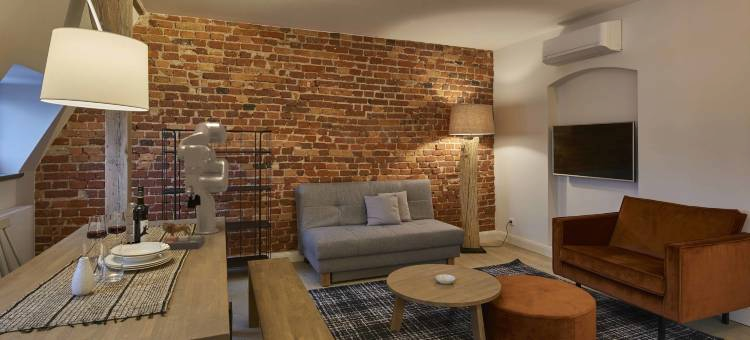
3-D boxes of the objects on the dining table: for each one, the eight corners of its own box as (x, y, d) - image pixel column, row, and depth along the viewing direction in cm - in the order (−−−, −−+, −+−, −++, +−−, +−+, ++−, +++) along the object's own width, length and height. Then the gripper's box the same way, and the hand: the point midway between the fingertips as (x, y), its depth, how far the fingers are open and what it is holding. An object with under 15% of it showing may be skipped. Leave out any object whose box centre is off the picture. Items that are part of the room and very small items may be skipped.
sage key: (192, 240, 205) (192, 235, 205) (201, 239, 206) (200, 235, 206) (190, 242, 201) (189, 237, 201) (198, 241, 202) (198, 237, 202)
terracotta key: (169, 240, 204) (169, 236, 204) (178, 240, 204) (178, 235, 204) (167, 242, 200) (166, 238, 200) (175, 242, 200) (175, 237, 200)
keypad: (169, 243, 207) (169, 237, 207) (204, 242, 209) (204, 236, 209) (161, 250, 195) (161, 243, 195) (198, 248, 197) (198, 242, 197)
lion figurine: (163, 240, 214) (162, 223, 214) (162, 238, 219) (162, 221, 218) (194, 237, 221) (193, 220, 221) (193, 235, 226) (192, 218, 225)
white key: (181, 240, 205) (181, 235, 204) (189, 240, 205) (189, 235, 205) (178, 242, 201) (178, 237, 200) (187, 242, 201) (187, 237, 201)
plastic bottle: (136, 244, 206) (134, 204, 204) (122, 244, 206) (120, 203, 204) (143, 241, 212) (142, 202, 211) (130, 241, 212) (128, 202, 211)
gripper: (190, 170, 209) (191, 204, 210) (179, 172, 192) (180, 209, 193) (206, 170, 210) (207, 204, 211) (196, 172, 193) (197, 209, 194)
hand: (194, 206), depth 202 cm, fingers open, 9 cm apart
